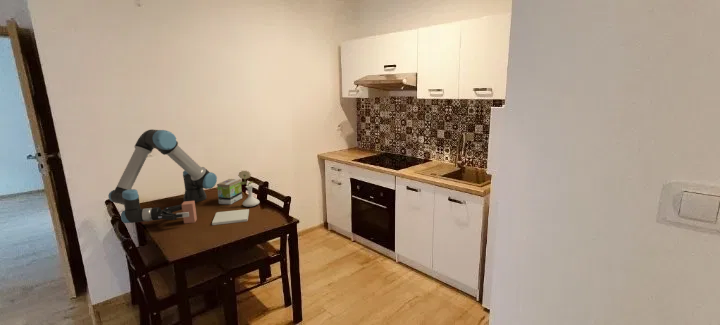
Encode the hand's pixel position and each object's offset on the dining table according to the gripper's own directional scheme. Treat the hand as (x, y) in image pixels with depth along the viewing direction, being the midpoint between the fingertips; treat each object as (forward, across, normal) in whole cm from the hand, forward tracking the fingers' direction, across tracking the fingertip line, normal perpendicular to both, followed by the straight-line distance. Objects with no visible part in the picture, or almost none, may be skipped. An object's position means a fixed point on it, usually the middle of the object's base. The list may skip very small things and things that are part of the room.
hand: (191, 210), depth 203 cm
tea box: (+18, -33, -7) cm, 39 cm away
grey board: (+23, +2, -7) cm, 24 cm away
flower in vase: (+33, -19, -7) cm, 39 cm away
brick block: (-1, 0, -7) cm, 7 cm away
